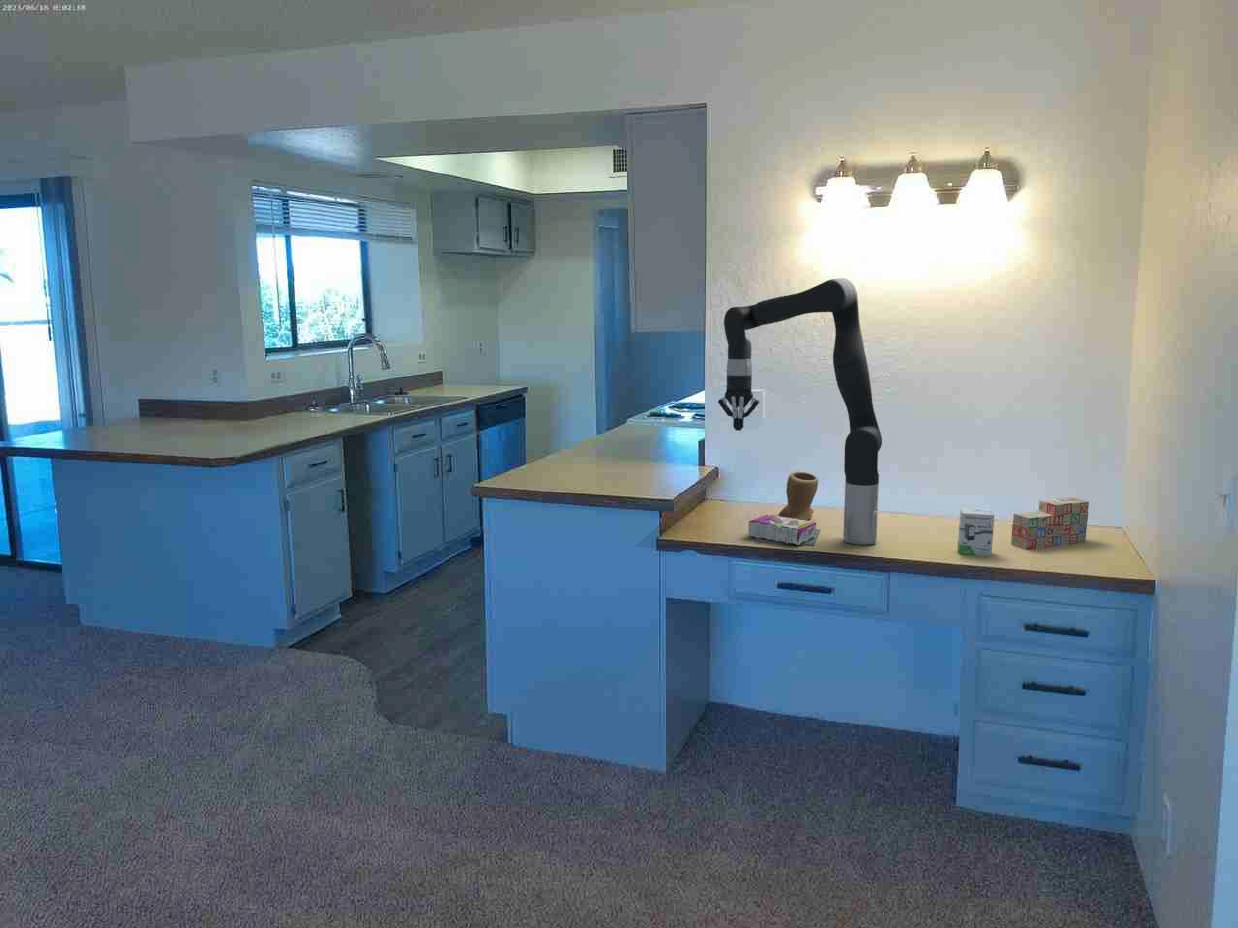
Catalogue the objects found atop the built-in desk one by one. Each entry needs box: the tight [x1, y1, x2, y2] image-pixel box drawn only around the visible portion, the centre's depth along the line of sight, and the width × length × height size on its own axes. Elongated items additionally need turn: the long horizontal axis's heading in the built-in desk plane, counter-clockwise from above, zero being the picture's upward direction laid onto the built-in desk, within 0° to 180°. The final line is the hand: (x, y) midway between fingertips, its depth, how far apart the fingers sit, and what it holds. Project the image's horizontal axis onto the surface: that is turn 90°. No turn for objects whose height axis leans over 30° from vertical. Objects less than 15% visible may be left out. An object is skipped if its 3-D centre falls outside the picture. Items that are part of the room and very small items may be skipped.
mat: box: [753, 528, 821, 547], centre depth 286 cm, size 17×18×1 cm
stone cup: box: [777, 470, 819, 521], centre depth 305 cm, size 15×12×15 cm
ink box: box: [957, 508, 995, 557], centre depth 266 cm, size 9×5×12 cm, turn 75°
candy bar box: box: [748, 514, 817, 546], centre depth 282 cm, size 11×5×16 cm
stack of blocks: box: [1010, 497, 1090, 551], centre depth 275 cm, size 21×6×12 cm, turn 111°
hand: (738, 430), depth 297 cm, fingers closed
